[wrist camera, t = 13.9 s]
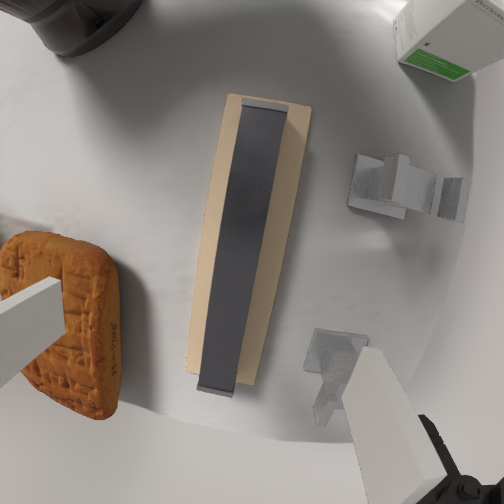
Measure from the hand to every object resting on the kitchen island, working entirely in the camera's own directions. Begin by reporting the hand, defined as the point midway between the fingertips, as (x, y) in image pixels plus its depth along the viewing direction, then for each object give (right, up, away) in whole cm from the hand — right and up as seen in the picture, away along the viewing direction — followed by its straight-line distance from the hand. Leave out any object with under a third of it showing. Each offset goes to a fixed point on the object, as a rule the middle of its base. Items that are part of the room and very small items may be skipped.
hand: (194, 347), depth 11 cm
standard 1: (+11, -7, +19) cm, 23 cm away
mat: (+1, +4, +17) cm, 18 cm away
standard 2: (+15, +10, +15) cm, 23 cm away
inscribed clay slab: (-20, -4, +21) cm, 29 cm away
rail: (+1, +3, +17) cm, 17 cm away
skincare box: (+22, +27, +11) cm, 36 cm away
